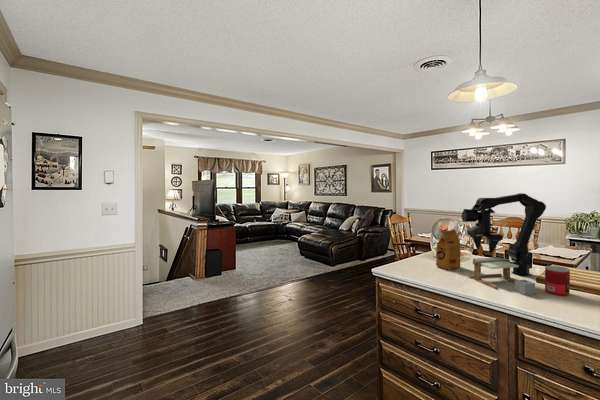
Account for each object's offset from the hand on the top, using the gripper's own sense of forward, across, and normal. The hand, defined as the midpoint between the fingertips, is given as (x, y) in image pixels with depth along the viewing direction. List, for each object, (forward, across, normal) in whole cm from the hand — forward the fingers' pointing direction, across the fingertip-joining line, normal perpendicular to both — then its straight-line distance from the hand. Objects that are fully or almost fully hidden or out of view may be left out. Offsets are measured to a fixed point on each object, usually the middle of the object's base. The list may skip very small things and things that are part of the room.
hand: (484, 250), depth 154 cm
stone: (+13, +28, -3) cm, 30 cm away
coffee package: (+13, -16, -10) cm, 23 cm away
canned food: (+13, +30, +10) cm, 34 cm away
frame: (+13, +13, -3) cm, 18 cm away
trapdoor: (+5, +11, -3) cm, 12 cm away
